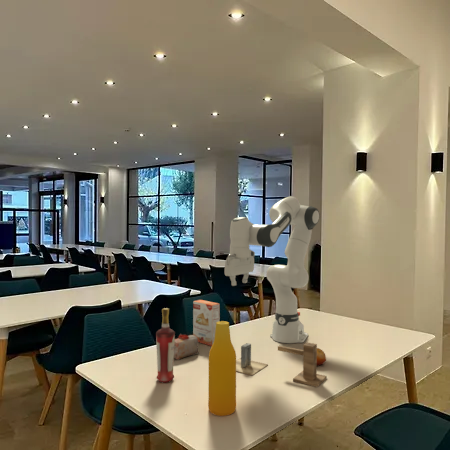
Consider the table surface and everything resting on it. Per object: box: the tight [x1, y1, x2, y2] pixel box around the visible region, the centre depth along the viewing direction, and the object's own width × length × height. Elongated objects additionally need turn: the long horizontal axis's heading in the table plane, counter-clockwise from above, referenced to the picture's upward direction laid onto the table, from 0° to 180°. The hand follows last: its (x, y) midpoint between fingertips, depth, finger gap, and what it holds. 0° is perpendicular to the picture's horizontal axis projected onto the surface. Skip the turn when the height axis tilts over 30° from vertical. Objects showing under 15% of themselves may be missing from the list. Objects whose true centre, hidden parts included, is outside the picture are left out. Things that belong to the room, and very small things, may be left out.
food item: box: [174, 333, 200, 361], centre depth 186 cm, size 14×8×10 cm, turn 134°
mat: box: [236, 357, 269, 376], centre depth 172 cm, size 14×14×1 cm
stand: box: [277, 341, 327, 388], centre depth 161 cm, size 10×19×14 cm, turn 57°
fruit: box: [317, 347, 327, 367], centre depth 176 cm, size 8×8×8 cm
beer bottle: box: [207, 320, 237, 417], centre depth 133 cm, size 9×9×29 cm
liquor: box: [155, 307, 176, 384], centre depth 157 cm, size 7×7×28 cm
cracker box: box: [192, 299, 221, 347], centre depth 206 cm, size 14×6×21 cm, turn 47°
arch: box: [240, 342, 252, 368], centre depth 172 cm, size 5×2×9 cm, turn 147°
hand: (239, 284), depth 180 cm, fingers open, 8 cm apart
